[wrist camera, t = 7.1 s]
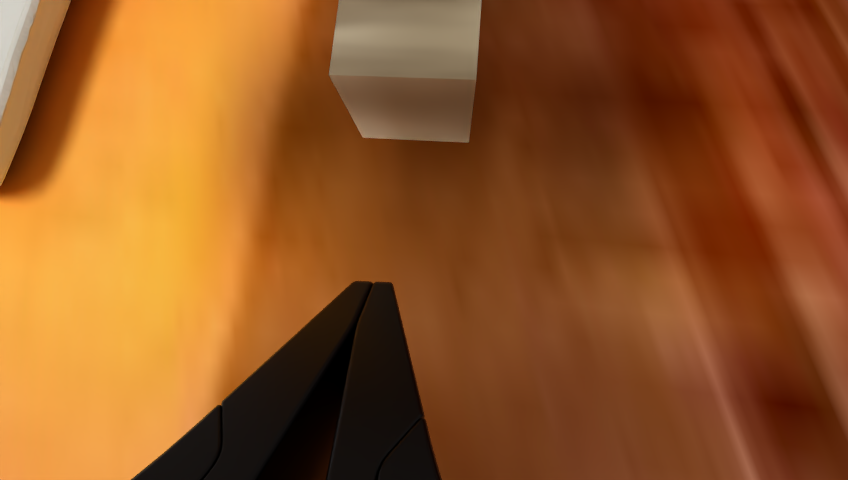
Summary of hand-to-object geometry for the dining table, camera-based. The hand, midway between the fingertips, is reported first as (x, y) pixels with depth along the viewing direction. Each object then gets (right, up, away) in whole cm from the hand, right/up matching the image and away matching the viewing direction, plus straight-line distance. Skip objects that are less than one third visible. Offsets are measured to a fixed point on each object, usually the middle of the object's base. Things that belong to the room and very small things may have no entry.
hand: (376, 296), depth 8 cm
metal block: (0, +6, +7) cm, 9 cm away
